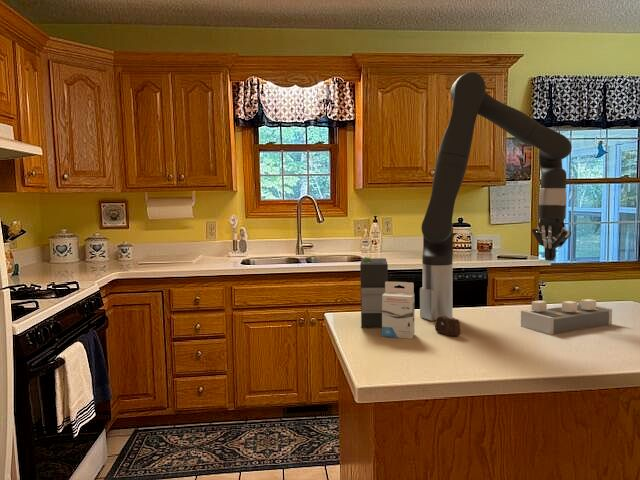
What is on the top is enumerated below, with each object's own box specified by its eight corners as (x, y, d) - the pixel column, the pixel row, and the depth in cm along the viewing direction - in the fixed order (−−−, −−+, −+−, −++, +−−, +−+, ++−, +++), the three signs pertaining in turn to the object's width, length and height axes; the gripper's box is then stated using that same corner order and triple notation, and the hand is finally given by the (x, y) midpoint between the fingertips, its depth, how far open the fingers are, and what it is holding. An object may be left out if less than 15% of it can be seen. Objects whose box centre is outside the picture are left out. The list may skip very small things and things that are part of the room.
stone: (434, 332, 139) (433, 314, 139) (441, 330, 141) (441, 313, 140) (455, 338, 133) (455, 320, 132) (462, 336, 134) (462, 318, 134)
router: (386, 315, 161) (385, 254, 160) (388, 329, 143) (387, 261, 142) (361, 314, 162) (361, 254, 160) (361, 329, 144) (360, 261, 142)
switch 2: (569, 312, 140) (569, 303, 140) (561, 310, 143) (562, 301, 142) (577, 310, 142) (577, 302, 141) (569, 309, 144) (569, 300, 144)
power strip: (550, 334, 134) (550, 318, 133) (520, 326, 143) (521, 310, 143) (611, 324, 143) (612, 308, 143) (580, 316, 153) (580, 302, 152)
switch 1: (538, 311, 142) (538, 303, 141) (531, 309, 144) (531, 301, 144) (546, 310, 143) (546, 302, 143) (539, 308, 145) (539, 300, 145)
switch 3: (588, 309, 142) (588, 301, 142) (580, 308, 145) (581, 299, 145) (596, 308, 144) (596, 300, 144) (588, 307, 146) (588, 298, 146)
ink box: (381, 337, 135) (380, 284, 134) (384, 332, 140) (384, 281, 139) (412, 339, 132) (412, 285, 131) (415, 334, 137) (414, 282, 136)
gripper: (525, 203, 153) (523, 258, 155) (562, 203, 141) (559, 263, 143) (543, 203, 156) (541, 257, 158) (580, 203, 144) (577, 262, 146)
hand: (549, 260), depth 150 cm, fingers closed
